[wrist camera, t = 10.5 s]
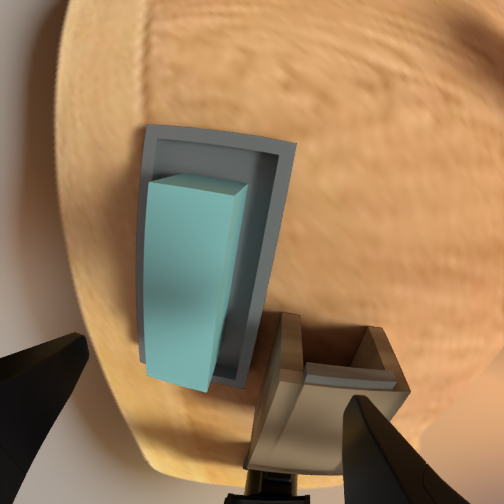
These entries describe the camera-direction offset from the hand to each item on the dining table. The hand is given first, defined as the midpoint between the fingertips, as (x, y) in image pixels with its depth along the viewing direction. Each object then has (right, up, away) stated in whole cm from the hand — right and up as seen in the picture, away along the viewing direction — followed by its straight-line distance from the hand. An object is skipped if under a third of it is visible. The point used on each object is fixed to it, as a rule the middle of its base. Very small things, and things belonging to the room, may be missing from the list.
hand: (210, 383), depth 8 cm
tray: (-2, +3, +12) cm, 12 cm away
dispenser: (+6, -6, +14) cm, 17 cm away
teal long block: (-2, +3, +11) cm, 11 cm away
